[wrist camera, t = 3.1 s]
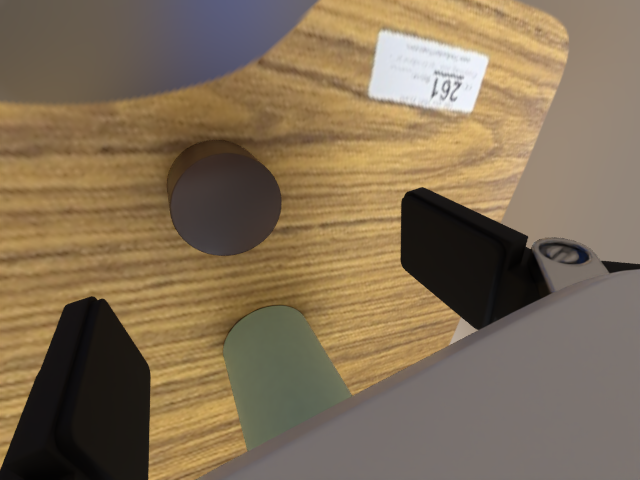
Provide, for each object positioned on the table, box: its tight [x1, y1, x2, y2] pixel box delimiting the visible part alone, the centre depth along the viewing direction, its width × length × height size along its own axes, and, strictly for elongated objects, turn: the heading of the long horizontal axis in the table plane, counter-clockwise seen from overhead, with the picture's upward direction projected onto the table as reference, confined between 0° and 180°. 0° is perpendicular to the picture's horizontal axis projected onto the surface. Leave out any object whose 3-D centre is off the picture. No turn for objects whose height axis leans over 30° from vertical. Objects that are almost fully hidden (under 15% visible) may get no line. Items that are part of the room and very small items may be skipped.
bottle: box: [223, 306, 352, 451], centre depth 17 cm, size 6×6×16 cm
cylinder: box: [167, 140, 281, 256], centre depth 16 cm, size 5×5×3 cm
